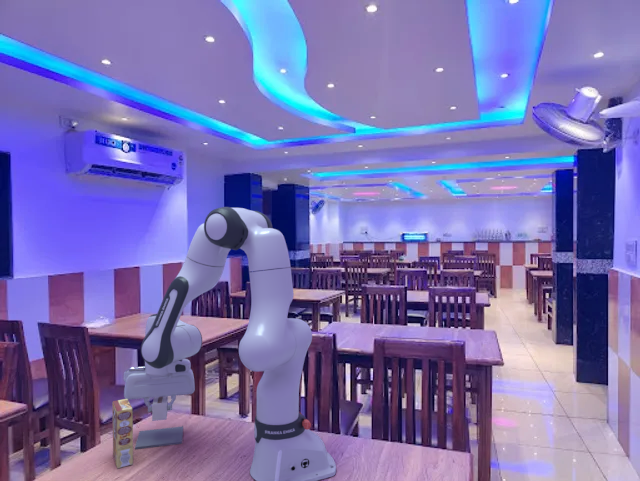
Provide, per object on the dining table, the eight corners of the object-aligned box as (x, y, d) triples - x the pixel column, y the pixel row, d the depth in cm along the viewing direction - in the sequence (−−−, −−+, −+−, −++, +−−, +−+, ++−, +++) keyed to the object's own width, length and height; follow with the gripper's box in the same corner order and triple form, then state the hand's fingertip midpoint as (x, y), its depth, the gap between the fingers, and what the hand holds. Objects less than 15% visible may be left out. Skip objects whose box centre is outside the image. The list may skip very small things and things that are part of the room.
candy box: (133, 464, 115) (133, 407, 115) (116, 469, 113) (116, 411, 113) (127, 451, 122) (128, 397, 122) (111, 455, 120) (111, 400, 120)
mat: (183, 428, 138) (183, 426, 138) (182, 443, 127) (182, 441, 127) (139, 433, 134) (139, 431, 134) (134, 449, 124) (134, 447, 124)
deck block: (166, 419, 128) (166, 402, 128) (152, 421, 127) (152, 403, 127) (167, 410, 135) (167, 394, 135) (154, 411, 134) (154, 395, 134)
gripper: (121, 370, 125) (121, 418, 125) (194, 365, 131) (194, 410, 131) (125, 364, 131) (124, 410, 131) (194, 360, 137) (194, 403, 137)
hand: (160, 410), depth 131 cm, fingers closed on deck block, 4 cm apart
